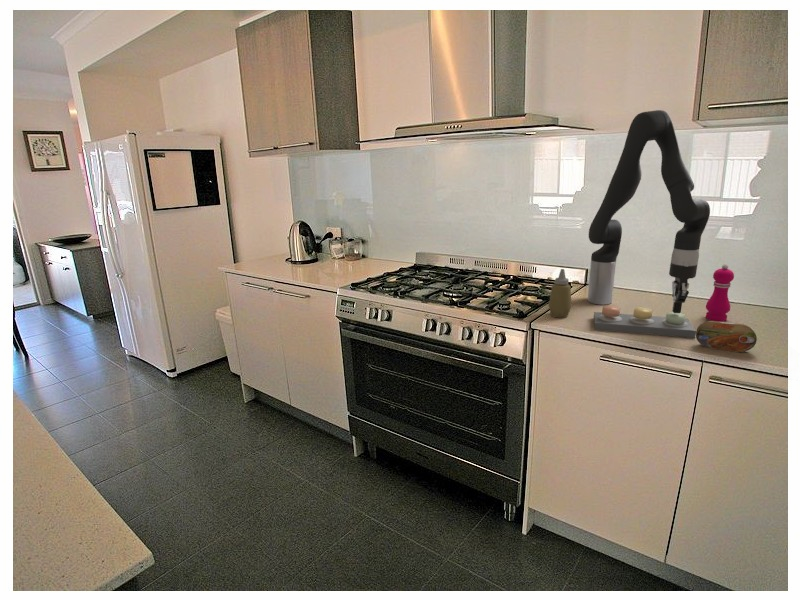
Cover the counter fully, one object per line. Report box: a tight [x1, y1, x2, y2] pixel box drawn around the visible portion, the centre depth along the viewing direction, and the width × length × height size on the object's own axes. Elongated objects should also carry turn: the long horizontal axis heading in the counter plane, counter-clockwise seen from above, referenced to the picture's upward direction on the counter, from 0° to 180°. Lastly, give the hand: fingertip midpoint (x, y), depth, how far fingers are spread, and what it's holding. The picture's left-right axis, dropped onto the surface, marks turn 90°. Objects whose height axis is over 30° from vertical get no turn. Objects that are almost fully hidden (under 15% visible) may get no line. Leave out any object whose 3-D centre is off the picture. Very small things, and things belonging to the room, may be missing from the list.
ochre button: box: [632, 306, 653, 319], centre depth 158 cm, size 6×6×2 cm
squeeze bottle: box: [548, 268, 572, 319], centre depth 171 cm, size 8×8×18 cm
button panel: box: [593, 311, 697, 339], centre depth 159 cm, size 12×30×3 cm, turn 70°
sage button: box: [665, 311, 687, 324], centre depth 155 cm, size 6×6×2 cm
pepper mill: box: [705, 264, 735, 322], centre depth 162 cm, size 7×7×20 cm
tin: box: [695, 320, 758, 353], centre depth 139 cm, size 15×3×8 cm, turn 59°
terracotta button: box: [601, 304, 621, 317], centre depth 161 cm, size 6×6×2 cm
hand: (676, 312), depth 154 cm, fingers closed
